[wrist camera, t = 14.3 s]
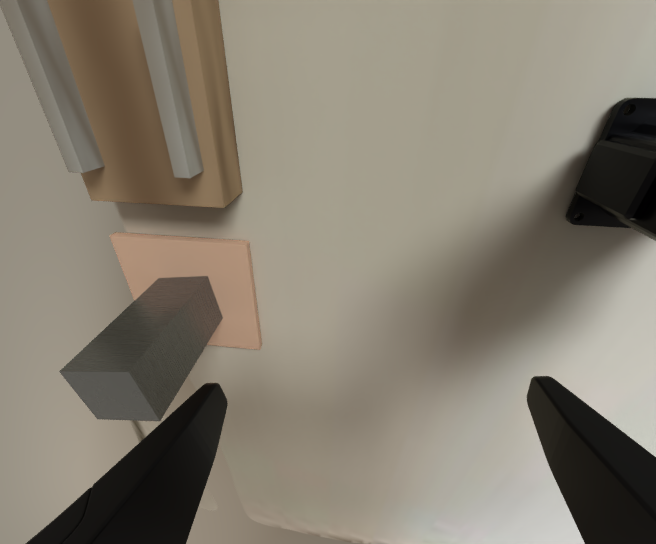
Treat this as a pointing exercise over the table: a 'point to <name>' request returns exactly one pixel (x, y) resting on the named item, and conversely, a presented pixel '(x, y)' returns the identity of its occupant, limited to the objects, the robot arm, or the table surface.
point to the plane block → (134, 95)
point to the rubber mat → (198, 260)
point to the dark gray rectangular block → (146, 351)
